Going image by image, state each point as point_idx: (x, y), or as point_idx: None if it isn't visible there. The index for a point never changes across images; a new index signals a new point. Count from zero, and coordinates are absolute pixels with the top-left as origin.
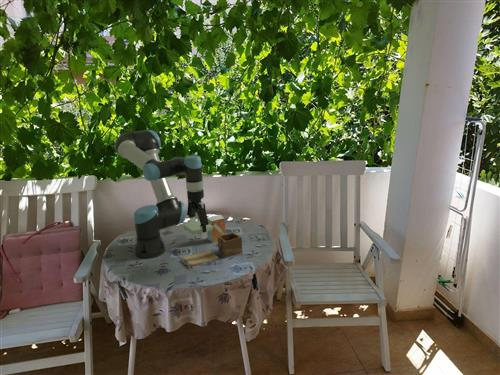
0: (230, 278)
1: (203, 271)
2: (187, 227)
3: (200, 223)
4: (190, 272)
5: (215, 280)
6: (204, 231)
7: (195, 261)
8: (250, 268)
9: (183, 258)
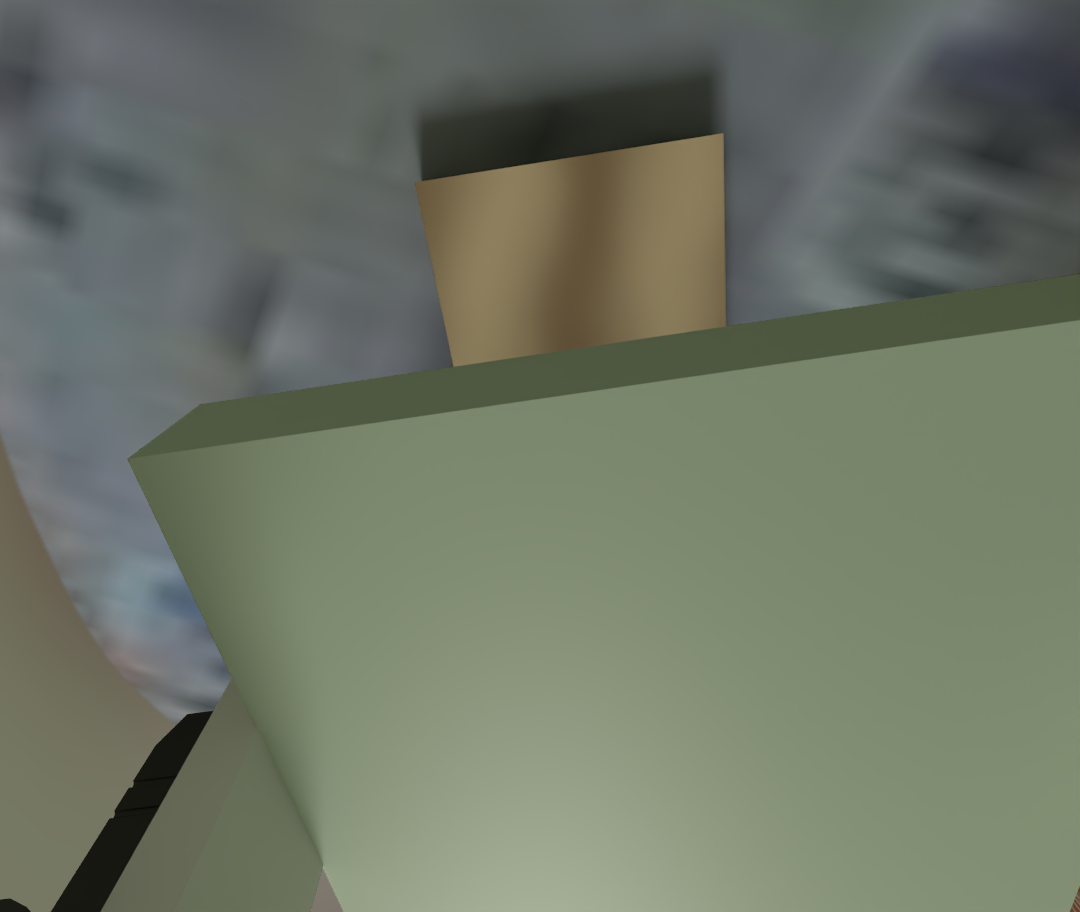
0: (47, 504)
1: (285, 298)
2: (782, 360)
3: (825, 831)
4: (313, 130)
5: (28, 359)
6: (165, 766)
7: (506, 270)
8: (206, 699)
9: (703, 136)
